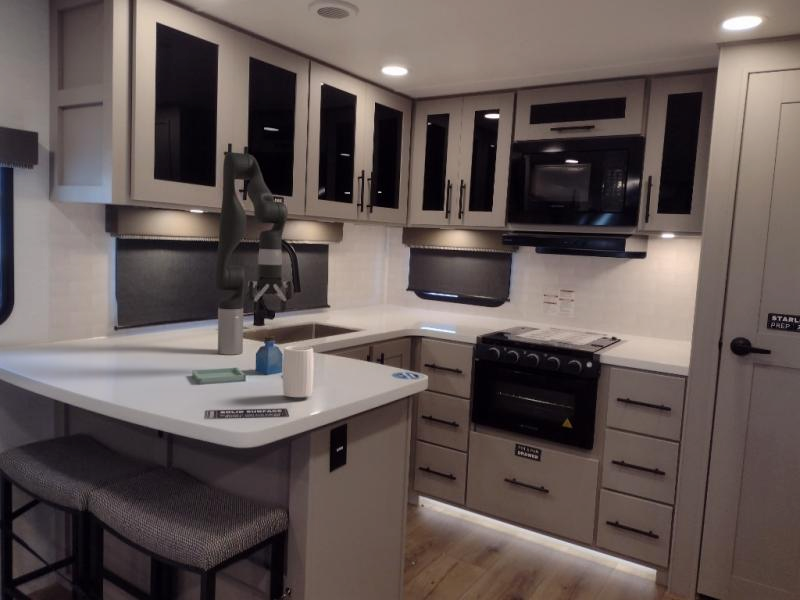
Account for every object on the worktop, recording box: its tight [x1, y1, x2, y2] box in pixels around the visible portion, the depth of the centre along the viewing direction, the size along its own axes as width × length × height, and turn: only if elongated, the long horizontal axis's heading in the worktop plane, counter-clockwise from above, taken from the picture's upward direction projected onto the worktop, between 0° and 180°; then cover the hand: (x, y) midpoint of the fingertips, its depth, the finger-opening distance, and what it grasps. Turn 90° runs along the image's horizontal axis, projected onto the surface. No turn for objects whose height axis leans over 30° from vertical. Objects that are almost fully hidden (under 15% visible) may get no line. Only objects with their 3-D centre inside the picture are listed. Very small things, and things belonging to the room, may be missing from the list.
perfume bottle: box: [255, 335, 284, 376], centre depth 198 cm, size 6×6×12 cm
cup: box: [282, 345, 315, 398], centre depth 167 cm, size 8×8×14 cm
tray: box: [191, 367, 247, 386], centre depth 187 cm, size 12×14×2 cm
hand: (269, 312), depth 196 cm, fingers open, 8 cm apart
